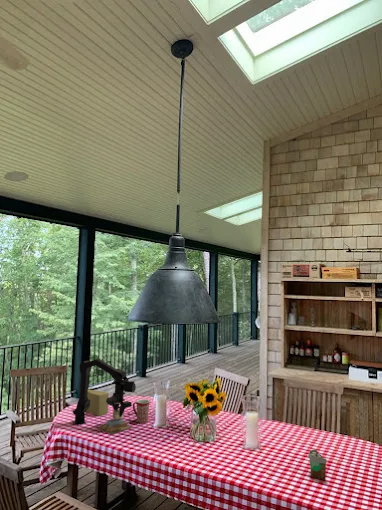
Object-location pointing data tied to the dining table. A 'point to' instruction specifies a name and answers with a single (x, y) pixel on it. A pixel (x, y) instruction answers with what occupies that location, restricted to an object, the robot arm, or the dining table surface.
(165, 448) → the dining table surface
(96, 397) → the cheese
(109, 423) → the grey block
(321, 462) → the food container
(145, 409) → the mug
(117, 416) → the tan rectangular block
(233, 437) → the dining table surface
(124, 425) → the tray
